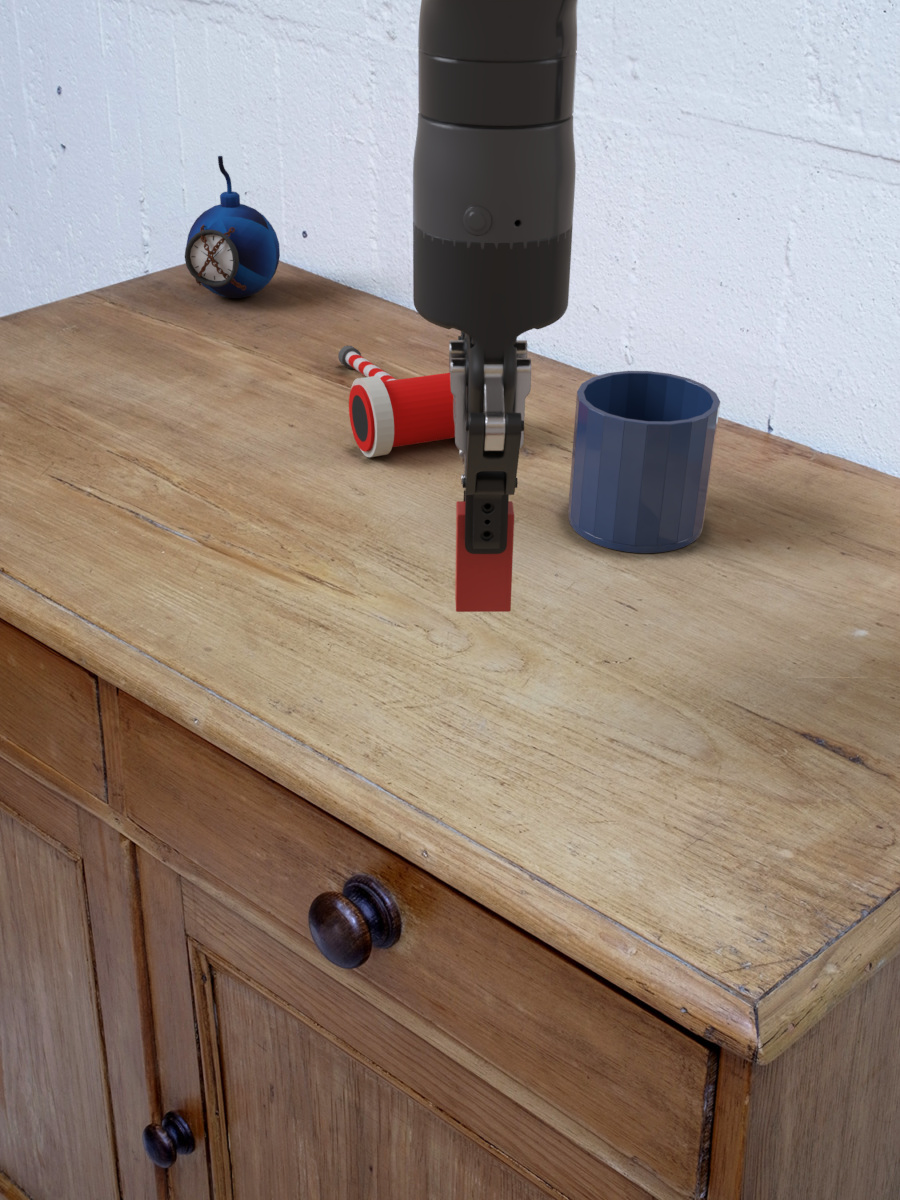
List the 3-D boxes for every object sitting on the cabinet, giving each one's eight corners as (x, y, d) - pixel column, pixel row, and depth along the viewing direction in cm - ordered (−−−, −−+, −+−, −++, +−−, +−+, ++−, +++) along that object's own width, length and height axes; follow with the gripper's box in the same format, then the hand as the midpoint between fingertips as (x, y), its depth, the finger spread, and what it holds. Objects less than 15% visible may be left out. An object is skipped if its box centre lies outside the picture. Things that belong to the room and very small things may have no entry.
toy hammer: (287, 373, 123) (284, 306, 120) (404, 358, 127) (404, 293, 124) (374, 470, 105) (373, 395, 102) (506, 449, 109) (510, 376, 106)
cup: (689, 492, 103) (704, 371, 98) (714, 554, 94) (732, 424, 89) (562, 491, 102) (570, 369, 97) (575, 553, 94) (586, 423, 89)
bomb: (170, 307, 138) (157, 161, 131) (213, 278, 147) (203, 139, 140) (257, 317, 136) (248, 169, 129) (294, 287, 145) (289, 146, 138)
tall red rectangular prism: (508, 597, 73) (514, 449, 69) (510, 612, 72) (516, 462, 67) (455, 597, 73) (457, 449, 68) (455, 612, 72) (458, 462, 67)
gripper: (589, 256, 56) (566, 606, 65) (559, 180, 68) (543, 484, 76) (412, 256, 56) (414, 607, 64) (413, 179, 67) (414, 485, 76)
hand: (484, 539), depth 70 cm, fingers closed on tall red rectangular prism, 1 cm apart
